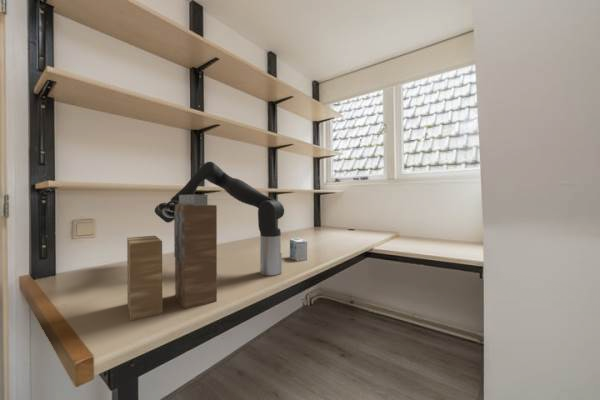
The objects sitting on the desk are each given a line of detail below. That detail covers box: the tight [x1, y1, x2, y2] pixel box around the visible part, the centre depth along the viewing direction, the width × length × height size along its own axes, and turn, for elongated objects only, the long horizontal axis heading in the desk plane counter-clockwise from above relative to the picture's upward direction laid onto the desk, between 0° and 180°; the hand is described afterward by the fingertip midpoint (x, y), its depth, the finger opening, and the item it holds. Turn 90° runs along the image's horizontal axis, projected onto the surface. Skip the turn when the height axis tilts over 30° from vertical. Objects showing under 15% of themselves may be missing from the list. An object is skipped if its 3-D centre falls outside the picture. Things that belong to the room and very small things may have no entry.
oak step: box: [126, 235, 163, 321], centre depth 80 cm, size 14×8×22 cm, turn 37°
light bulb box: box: [289, 237, 308, 261], centre depth 146 cm, size 11×7×11 cm, turn 24°
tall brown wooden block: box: [173, 204, 218, 310], centre depth 88 cm, size 14×11×32 cm
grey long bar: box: [179, 194, 208, 206], centre depth 91 cm, size 22×4×4 cm, turn 37°
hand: (180, 205), depth 108 cm, fingers open, 8 cm apart
